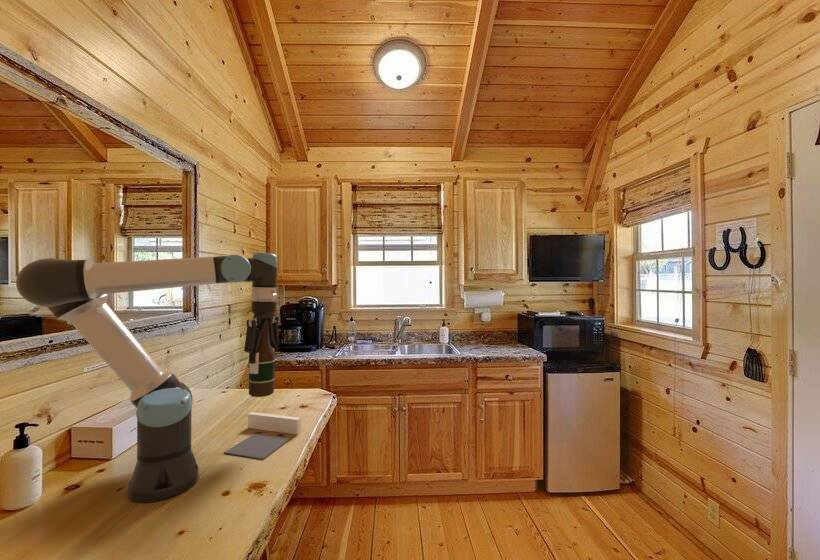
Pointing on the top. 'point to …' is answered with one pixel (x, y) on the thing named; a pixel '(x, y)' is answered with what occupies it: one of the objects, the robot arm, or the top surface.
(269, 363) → the beer bottle
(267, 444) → the mat
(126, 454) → the top surface
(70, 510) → the top surface
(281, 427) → the wall
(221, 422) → the top surface
